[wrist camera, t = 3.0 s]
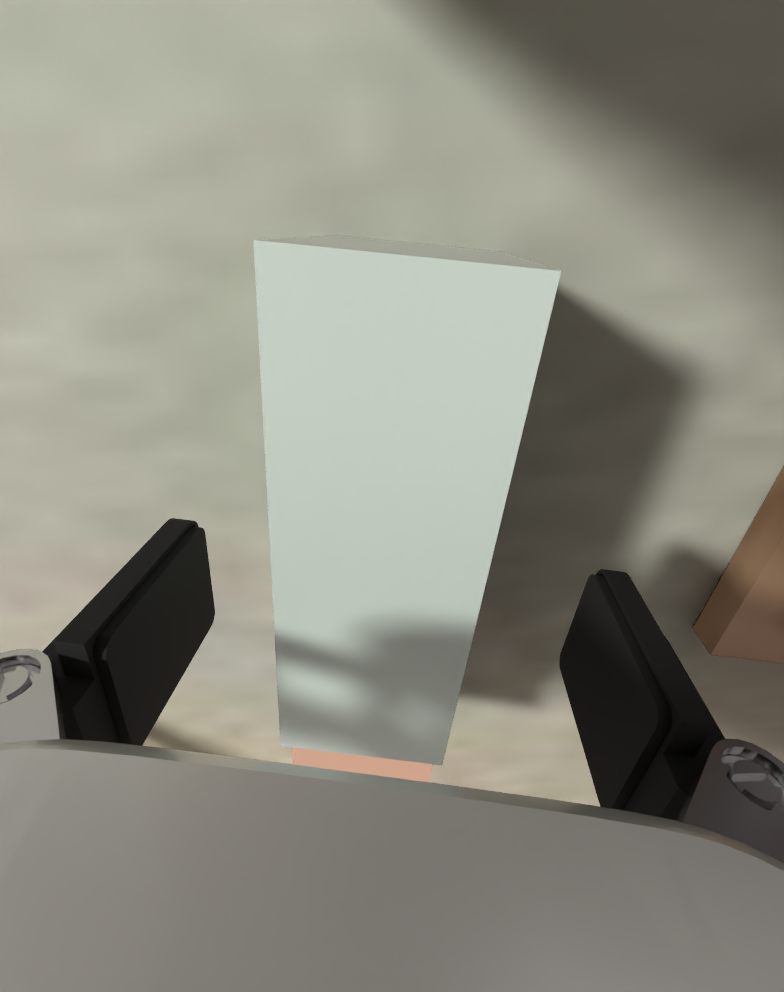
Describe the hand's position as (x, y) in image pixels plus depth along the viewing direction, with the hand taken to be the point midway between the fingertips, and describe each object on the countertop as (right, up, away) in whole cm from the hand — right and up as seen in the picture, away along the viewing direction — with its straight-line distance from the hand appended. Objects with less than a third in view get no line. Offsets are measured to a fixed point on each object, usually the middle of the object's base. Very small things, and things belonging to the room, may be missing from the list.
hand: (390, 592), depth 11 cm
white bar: (0, +2, +3) cm, 4 cm away
